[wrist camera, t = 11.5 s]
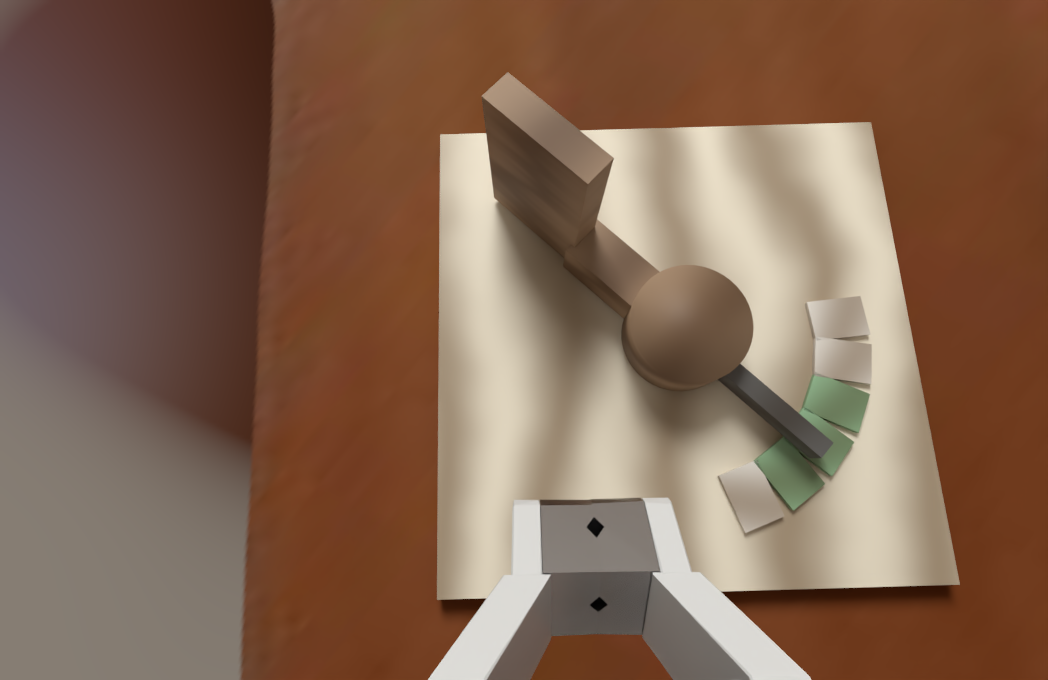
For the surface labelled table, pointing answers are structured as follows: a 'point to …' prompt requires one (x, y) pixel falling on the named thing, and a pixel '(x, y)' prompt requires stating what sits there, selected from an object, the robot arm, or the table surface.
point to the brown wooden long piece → (626, 261)
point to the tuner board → (709, 411)
